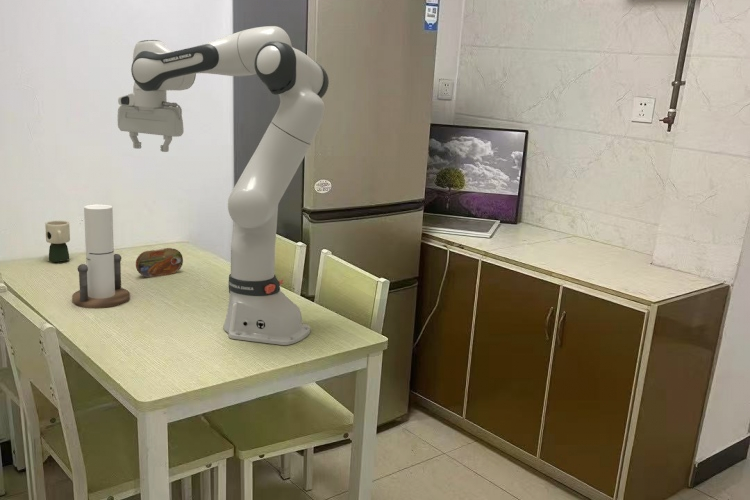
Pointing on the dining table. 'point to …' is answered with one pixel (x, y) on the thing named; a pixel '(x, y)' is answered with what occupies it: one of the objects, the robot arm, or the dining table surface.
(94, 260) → the cylindrical container
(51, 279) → the dining table surface
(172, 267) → the tin
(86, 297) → the roll holder
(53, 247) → the character mug
